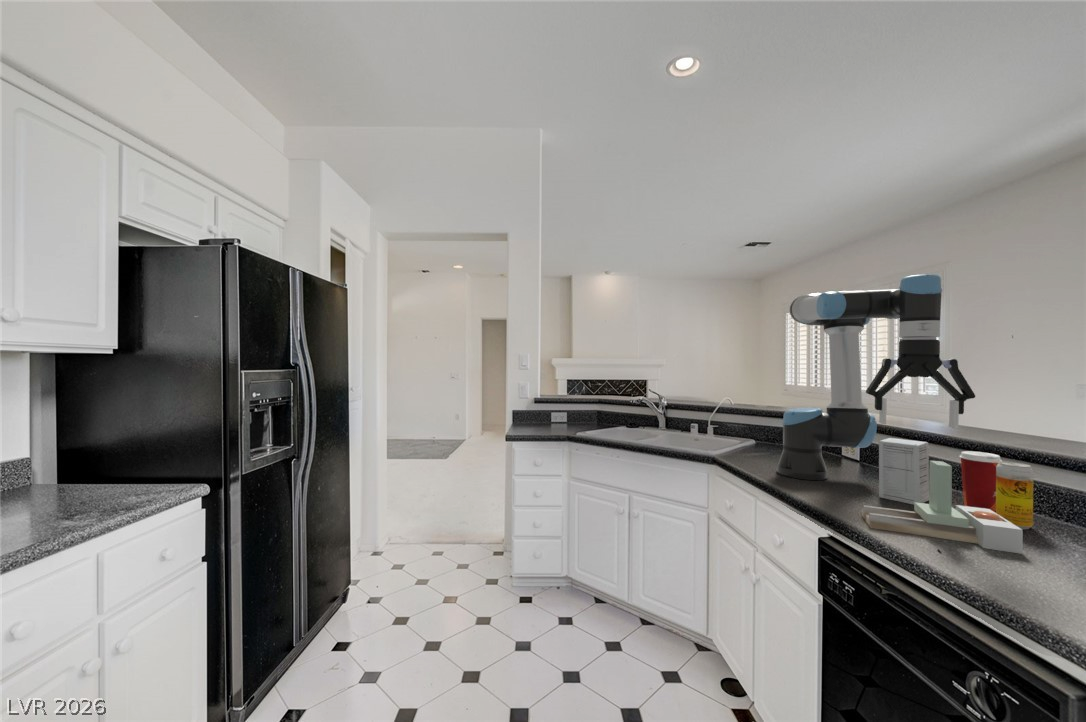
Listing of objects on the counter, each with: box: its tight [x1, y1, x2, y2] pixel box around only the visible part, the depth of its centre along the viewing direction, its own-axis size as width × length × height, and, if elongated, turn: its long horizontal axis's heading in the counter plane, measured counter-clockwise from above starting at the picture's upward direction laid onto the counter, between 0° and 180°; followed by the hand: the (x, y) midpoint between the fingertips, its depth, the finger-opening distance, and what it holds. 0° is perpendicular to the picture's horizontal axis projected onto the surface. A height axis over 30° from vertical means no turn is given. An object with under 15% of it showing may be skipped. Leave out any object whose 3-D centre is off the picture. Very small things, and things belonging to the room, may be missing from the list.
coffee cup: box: [959, 450, 1004, 513], centre depth 116 cm, size 8×8×15 cm
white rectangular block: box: [955, 504, 1024, 554], centre depth 96 cm, size 14×6×5 cm, turn 154°
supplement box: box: [878, 437, 930, 506], centre depth 124 cm, size 10×9×17 cm
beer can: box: [995, 461, 1034, 530], centre depth 104 cm, size 6×6×15 cm
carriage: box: [913, 460, 969, 528], centre depth 99 cm, size 9×7×13 cm
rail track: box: [861, 504, 979, 545], centre depth 101 cm, size 9×19×3 cm, turn 64°
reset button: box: [974, 511, 1000, 521], centre depth 96 cm, size 4×4×4 cm
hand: (917, 425), depth 104 cm, fingers open, 13 cm apart
